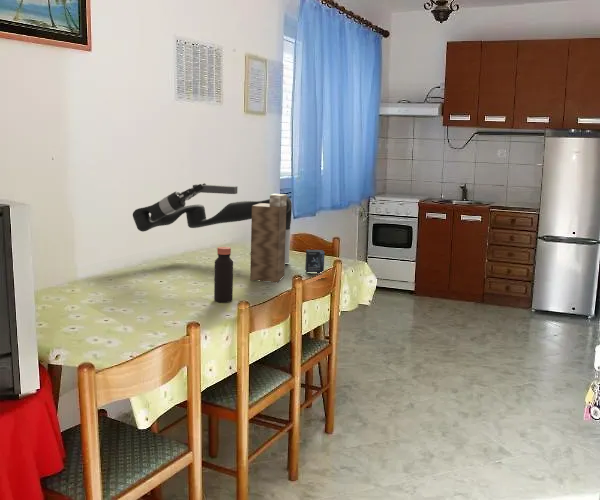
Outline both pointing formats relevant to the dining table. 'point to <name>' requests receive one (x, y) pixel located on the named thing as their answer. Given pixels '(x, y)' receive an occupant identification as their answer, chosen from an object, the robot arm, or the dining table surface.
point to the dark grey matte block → (218, 189)
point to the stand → (268, 239)
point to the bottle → (223, 276)
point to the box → (314, 261)
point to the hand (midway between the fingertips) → (203, 185)
